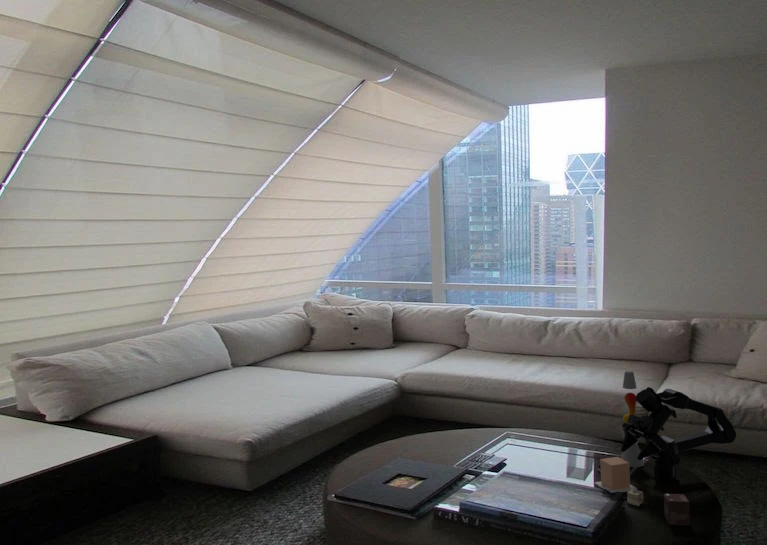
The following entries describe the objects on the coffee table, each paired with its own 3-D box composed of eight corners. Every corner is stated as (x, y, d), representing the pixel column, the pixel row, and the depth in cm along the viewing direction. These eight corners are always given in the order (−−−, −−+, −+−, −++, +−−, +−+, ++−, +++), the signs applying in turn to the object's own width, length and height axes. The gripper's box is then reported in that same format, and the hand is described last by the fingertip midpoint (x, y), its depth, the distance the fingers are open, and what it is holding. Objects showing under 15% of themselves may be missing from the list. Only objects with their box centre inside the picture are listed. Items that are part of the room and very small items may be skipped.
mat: (619, 479, 232) (619, 478, 232) (637, 489, 222) (637, 488, 222) (594, 483, 229) (594, 482, 229) (611, 494, 220) (611, 492, 220)
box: (690, 526, 193) (689, 501, 193) (668, 525, 195) (667, 501, 194) (685, 517, 199) (684, 493, 199) (664, 516, 201) (663, 493, 200)
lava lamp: (629, 457, 254) (626, 367, 252) (650, 463, 246) (647, 371, 245) (614, 462, 249) (611, 371, 248) (634, 469, 242) (631, 374, 240)
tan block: (618, 480, 230) (617, 456, 229) (630, 487, 223) (629, 462, 223) (601, 483, 228) (600, 459, 228) (612, 490, 222) (611, 465, 221)
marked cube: (632, 500, 214) (632, 488, 214) (643, 502, 212) (642, 491, 212) (627, 503, 212) (627, 492, 212) (638, 506, 209) (638, 494, 209)
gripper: (625, 399, 236) (599, 433, 234) (659, 412, 218) (631, 449, 216) (645, 418, 239) (619, 452, 236) (680, 432, 220) (652, 469, 218)
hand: (629, 455), depth 227 cm, fingers open, 9 cm apart
